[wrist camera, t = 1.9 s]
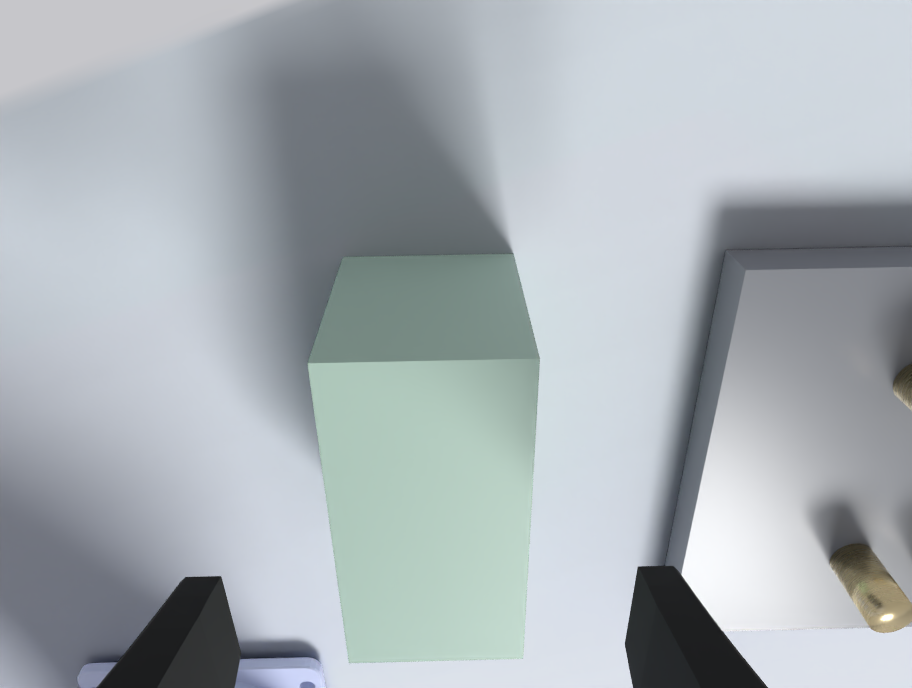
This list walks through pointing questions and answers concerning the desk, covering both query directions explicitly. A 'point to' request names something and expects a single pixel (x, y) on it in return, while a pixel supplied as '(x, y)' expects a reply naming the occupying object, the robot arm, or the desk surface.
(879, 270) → the plate
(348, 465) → the board block
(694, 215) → the desk surface
